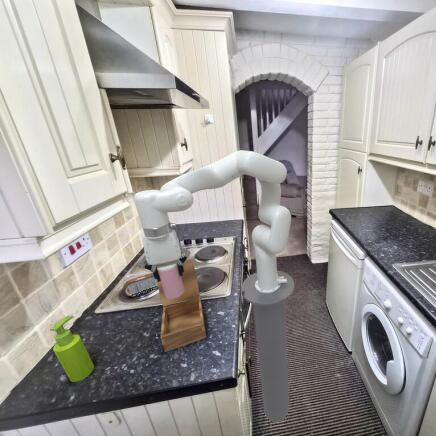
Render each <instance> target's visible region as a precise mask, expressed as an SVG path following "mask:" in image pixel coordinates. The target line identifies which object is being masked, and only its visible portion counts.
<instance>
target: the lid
mask: <svg viewBox="0 0 436 436" xmlns="http://www.w3.org/2000/svg"><path fill="white" fill-rule="evenodd" d="M183 268H184V272H182V274H183V276H181V278H182V282H183V286H184V293H183V294H182V295H181V296H179V297H177V298H174V299H168V298H166V297H165V294H164V290H163V287H162V283H161V280H160V282H158V281H157V284H158V288H157V289H158V292H159V296H160V301H161V304H162V307H166V306H169V305H173V304H176V303H180V302H183V301H187V300H190V299H194V298H197V297H201V293H200V289H199V283H198V279H197V273H196V269H195V263H194V259H193V258H188V259H186V261H185V262H184V263H183ZM156 280H157V279H156Z"/></svg>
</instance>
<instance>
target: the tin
mask: <svg viewBox="0 0 436 436" xmlns="http://www.w3.org/2000/svg"><path fill="white" fill-rule="evenodd" d="M155 286H158V284H157V280H156V279H155V278H154V274H153V272H150V273H147V274H143V275H139V276H136V277H134V278H130V279H129V280H128V279H127V281H126V282H124V284H123V286H122V291H123V293H124V295H125V296H127V297H130V296H131V295H132V294H135V293H138V292H141V291H143V290H146V289H149V288H152V287H155ZM156 289H159V288H158V287H156V288H153V290H152V289H151V291H148V292H147V291H146V292H143V294H146V293H149V292H152V291H155V290H156ZM139 294H140V293H139ZM139 294H138V295H137V296H136V295H133V296H131V298H132V297H134V298H135V297H138V296H140V295H142V294H140V295H139Z"/></svg>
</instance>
